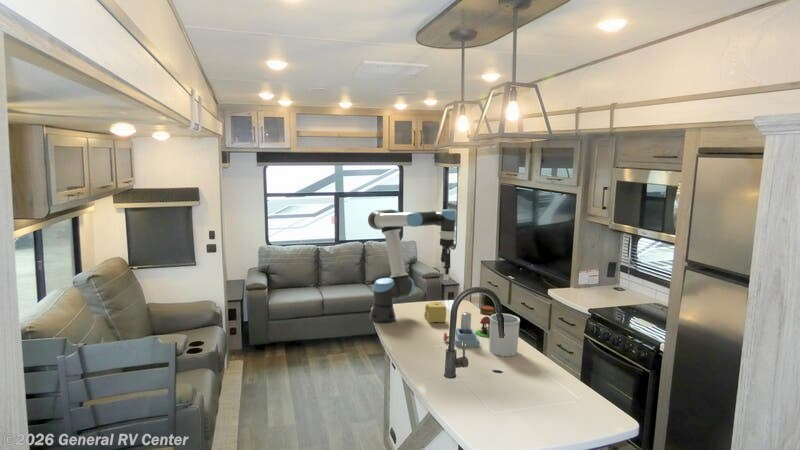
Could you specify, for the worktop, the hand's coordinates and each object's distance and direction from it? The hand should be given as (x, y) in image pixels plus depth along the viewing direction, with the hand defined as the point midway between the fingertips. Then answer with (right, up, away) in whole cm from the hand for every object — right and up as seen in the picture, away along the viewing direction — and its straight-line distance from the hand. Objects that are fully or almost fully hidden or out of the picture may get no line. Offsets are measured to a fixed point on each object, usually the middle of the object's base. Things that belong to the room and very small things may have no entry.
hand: (444, 276), depth 268 cm
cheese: (-4, -28, +22) cm, 36 cm away
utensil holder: (+27, -36, -21) cm, 49 cm away
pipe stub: (+10, -30, -10) cm, 33 cm away
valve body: (+7, -34, -10) cm, 36 cm away
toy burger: (+23, -32, +3) cm, 40 cm away
